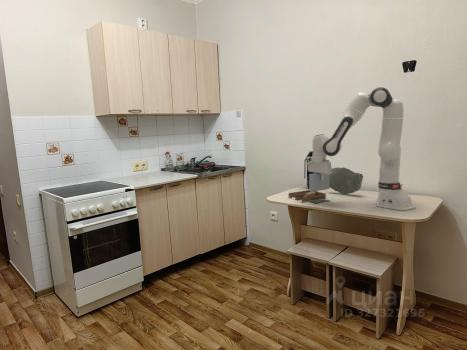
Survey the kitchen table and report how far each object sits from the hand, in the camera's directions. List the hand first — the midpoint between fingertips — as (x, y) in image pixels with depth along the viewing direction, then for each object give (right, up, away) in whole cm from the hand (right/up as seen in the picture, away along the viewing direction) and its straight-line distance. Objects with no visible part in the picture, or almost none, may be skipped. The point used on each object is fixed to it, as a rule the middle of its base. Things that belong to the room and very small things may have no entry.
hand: (319, 179), depth 218 cm
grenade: (+8, -8, +48) cm, 49 cm away
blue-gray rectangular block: (0, -7, +1) cm, 7 cm away
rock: (+23, -11, +19) cm, 32 cm away
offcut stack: (-4, -14, +10) cm, 18 cm away
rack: (-6, -13, +13) cm, 20 cm away
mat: (+1, -15, +2) cm, 15 cm away
